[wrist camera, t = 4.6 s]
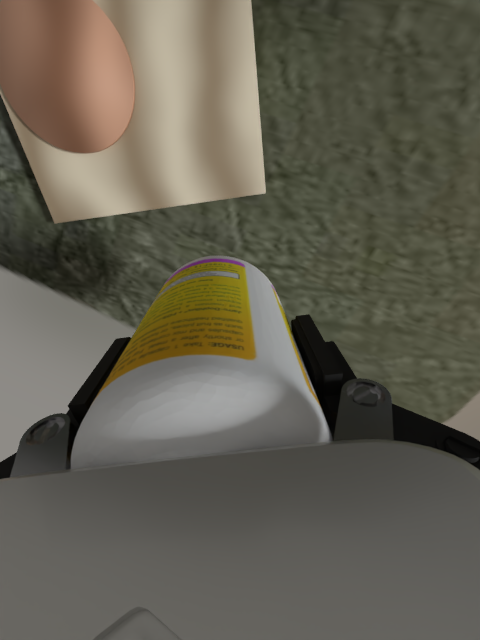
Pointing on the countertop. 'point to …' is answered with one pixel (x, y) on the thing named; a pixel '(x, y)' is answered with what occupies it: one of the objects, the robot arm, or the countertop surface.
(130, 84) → the seat board
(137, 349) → the supplement bottle
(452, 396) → the countertop surface
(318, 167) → the countertop surface
